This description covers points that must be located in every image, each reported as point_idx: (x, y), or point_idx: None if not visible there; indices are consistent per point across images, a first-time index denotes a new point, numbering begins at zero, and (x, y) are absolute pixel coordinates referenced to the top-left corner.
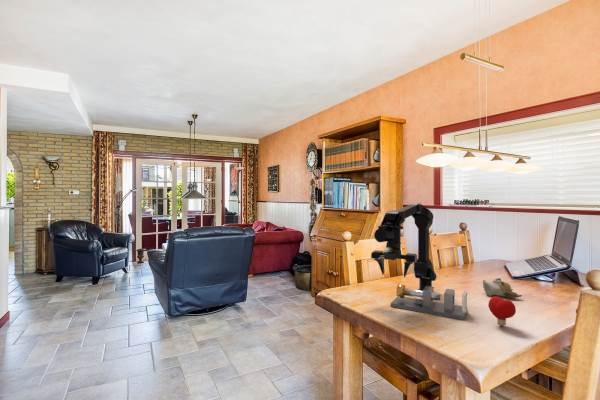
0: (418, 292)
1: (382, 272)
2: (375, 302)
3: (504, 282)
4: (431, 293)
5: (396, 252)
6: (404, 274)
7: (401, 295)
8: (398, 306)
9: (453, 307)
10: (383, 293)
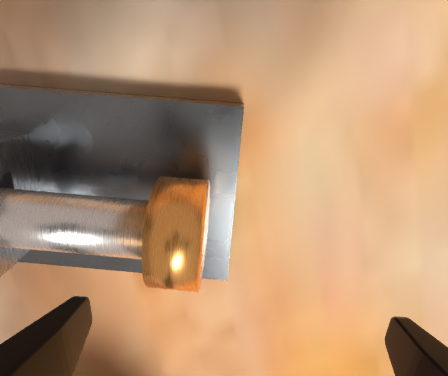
0: (19, 207)
1: (425, 339)
2: (357, 143)
3: None
4: None
5: None
6: (51, 322)
7: (168, 177)
8: (187, 99)
9: None
10: (327, 323)
